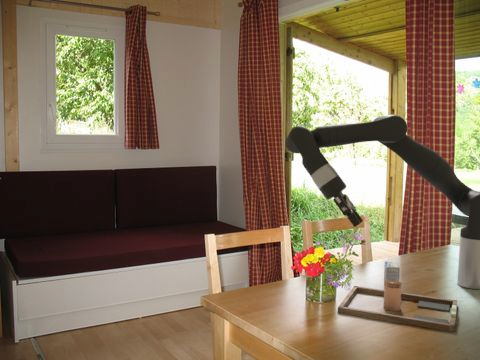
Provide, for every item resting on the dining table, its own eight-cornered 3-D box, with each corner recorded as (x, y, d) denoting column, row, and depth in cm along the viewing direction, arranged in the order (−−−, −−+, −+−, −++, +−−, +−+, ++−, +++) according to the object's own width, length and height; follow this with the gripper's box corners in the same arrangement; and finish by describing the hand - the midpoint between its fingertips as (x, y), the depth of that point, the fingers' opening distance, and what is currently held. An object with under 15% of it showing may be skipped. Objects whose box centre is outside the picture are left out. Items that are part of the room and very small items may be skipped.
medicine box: (399, 293, 171) (400, 267, 170) (385, 292, 172) (386, 266, 171) (396, 286, 178) (397, 261, 177) (383, 285, 179) (384, 260, 178)
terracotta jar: (384, 304, 160) (386, 279, 159) (401, 306, 158) (402, 281, 157) (382, 309, 155) (383, 283, 154) (399, 311, 153) (400, 286, 152)
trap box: (354, 290, 173) (354, 283, 172) (456, 305, 159) (457, 298, 159) (337, 312, 152) (338, 304, 152) (454, 331, 139) (454, 323, 139)
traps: (419, 301, 163) (419, 299, 163) (449, 305, 159) (449, 304, 159) (412, 323, 145) (412, 321, 145) (446, 328, 141) (446, 326, 141)
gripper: (334, 174, 153) (367, 218, 150) (341, 174, 167) (371, 215, 164) (314, 188, 155) (346, 233, 152) (322, 188, 169) (351, 228, 166)
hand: (359, 224), depth 158 cm, fingers open, 8 cm apart
